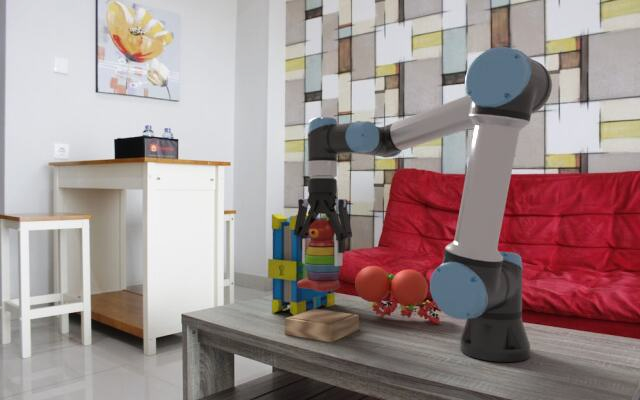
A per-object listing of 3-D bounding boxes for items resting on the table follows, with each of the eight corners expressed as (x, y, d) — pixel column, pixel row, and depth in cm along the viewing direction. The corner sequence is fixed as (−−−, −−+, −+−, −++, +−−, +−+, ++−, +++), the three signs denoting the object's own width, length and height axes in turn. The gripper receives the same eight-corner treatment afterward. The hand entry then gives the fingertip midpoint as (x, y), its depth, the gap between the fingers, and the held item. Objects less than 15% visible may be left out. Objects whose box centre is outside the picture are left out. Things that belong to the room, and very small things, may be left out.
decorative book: (263, 313, 155) (263, 214, 155) (308, 300, 174) (308, 212, 174) (301, 319, 147) (301, 215, 147) (344, 305, 166) (344, 213, 166)
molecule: (350, 322, 144) (350, 267, 144) (359, 314, 154) (359, 263, 154) (441, 329, 136) (441, 271, 136) (444, 320, 147) (444, 266, 147)
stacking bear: (293, 287, 134) (293, 218, 133) (319, 282, 141) (319, 217, 141) (324, 292, 126) (324, 220, 126) (350, 287, 134) (350, 219, 134)
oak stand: (358, 329, 136) (358, 313, 136) (331, 342, 124) (331, 324, 124) (314, 322, 143) (314, 307, 143) (284, 334, 131) (284, 317, 131)
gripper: (366, 177, 131) (366, 265, 131) (296, 179, 142) (296, 259, 143) (352, 176, 124) (351, 269, 124) (280, 178, 136) (279, 262, 136)
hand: (322, 264), depth 133 cm, fingers closed on stacking bear, 9 cm apart
